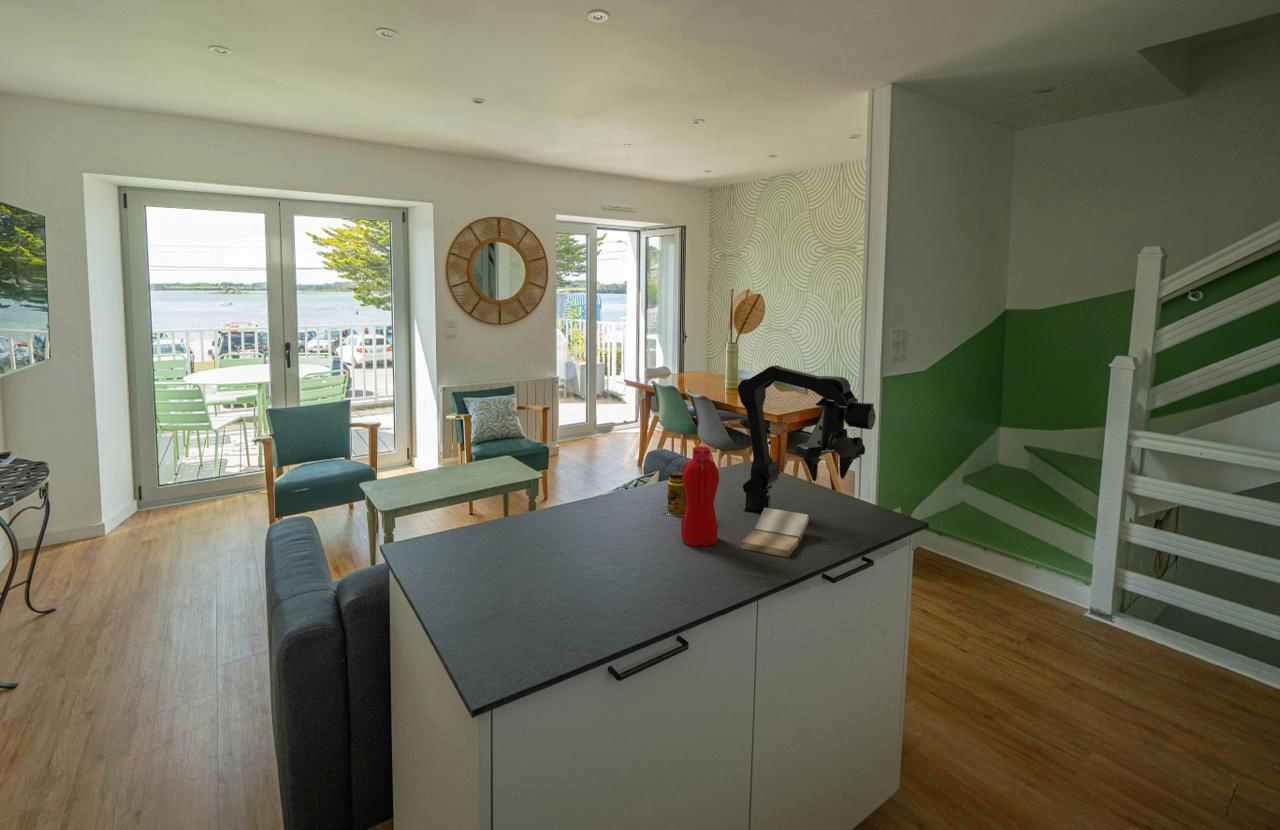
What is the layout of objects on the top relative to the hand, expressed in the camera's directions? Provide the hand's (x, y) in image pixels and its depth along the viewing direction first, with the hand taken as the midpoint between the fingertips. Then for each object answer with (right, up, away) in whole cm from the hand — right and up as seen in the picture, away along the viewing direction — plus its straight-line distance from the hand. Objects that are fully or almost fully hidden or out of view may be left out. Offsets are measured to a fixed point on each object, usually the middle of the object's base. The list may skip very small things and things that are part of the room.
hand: (828, 479), depth 179 cm
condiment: (-40, -11, +14) cm, 44 cm away
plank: (-14, -12, -5) cm, 19 cm away
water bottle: (-36, -15, -10) cm, 41 cm away
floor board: (-19, -16, -13) cm, 28 cm away
